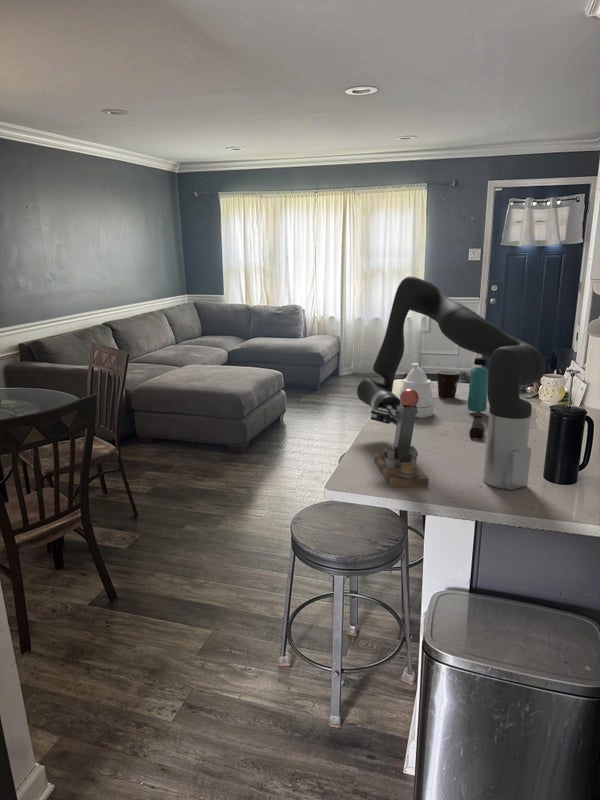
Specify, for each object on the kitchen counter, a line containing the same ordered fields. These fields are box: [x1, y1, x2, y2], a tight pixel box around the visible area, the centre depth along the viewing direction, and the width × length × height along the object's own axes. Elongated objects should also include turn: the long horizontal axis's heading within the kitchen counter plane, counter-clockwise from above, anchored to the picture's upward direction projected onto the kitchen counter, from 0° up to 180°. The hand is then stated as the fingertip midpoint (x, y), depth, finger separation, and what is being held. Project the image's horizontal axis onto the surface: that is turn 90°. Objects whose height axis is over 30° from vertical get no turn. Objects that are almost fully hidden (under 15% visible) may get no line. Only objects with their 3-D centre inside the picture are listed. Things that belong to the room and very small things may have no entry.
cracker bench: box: [373, 445, 430, 489], centre depth 136 cm, size 18×9×6 cm, turn 5°
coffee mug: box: [436, 369, 460, 399], centre depth 215 cm, size 12×9×10 cm
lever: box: [392, 389, 419, 463], centre depth 130 cm, size 6×4×20 cm
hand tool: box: [469, 412, 485, 440], centre depth 172 cm, size 19×4×5 cm, turn 158°
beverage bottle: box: [467, 357, 488, 413], centre depth 190 cm, size 6×7×20 cm
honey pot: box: [397, 362, 435, 418], centre depth 192 cm, size 13×13×18 cm
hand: (402, 423), depth 133 cm, fingers closed
